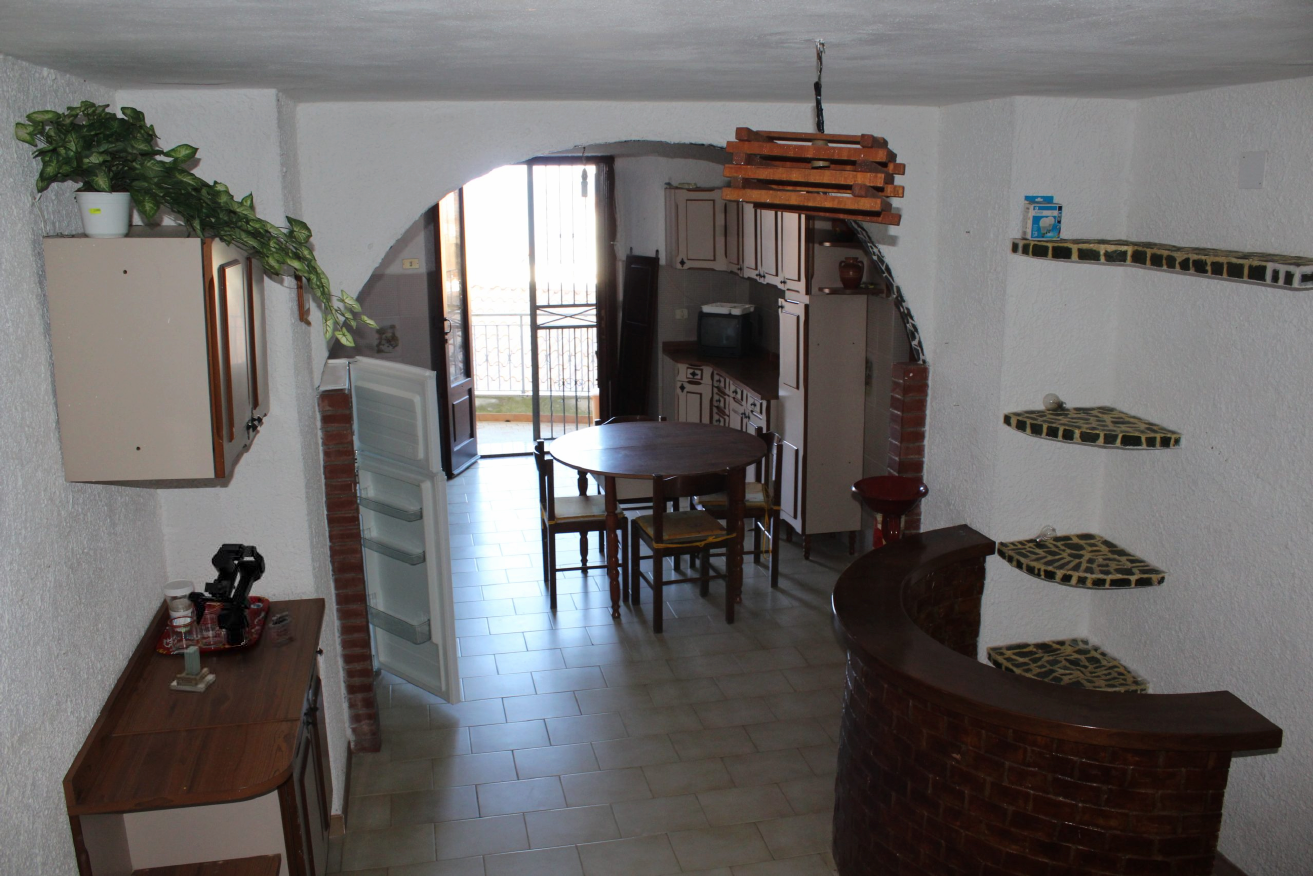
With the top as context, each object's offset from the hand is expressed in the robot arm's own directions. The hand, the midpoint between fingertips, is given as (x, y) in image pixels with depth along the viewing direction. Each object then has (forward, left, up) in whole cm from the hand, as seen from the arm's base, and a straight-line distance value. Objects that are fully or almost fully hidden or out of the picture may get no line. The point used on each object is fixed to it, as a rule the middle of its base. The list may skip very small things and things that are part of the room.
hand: (211, 626), depth 318 cm
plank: (+10, -6, -12) cm, 17 cm away
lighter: (-9, +21, -14) cm, 27 cm away
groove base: (+11, -6, -14) cm, 18 cm away
